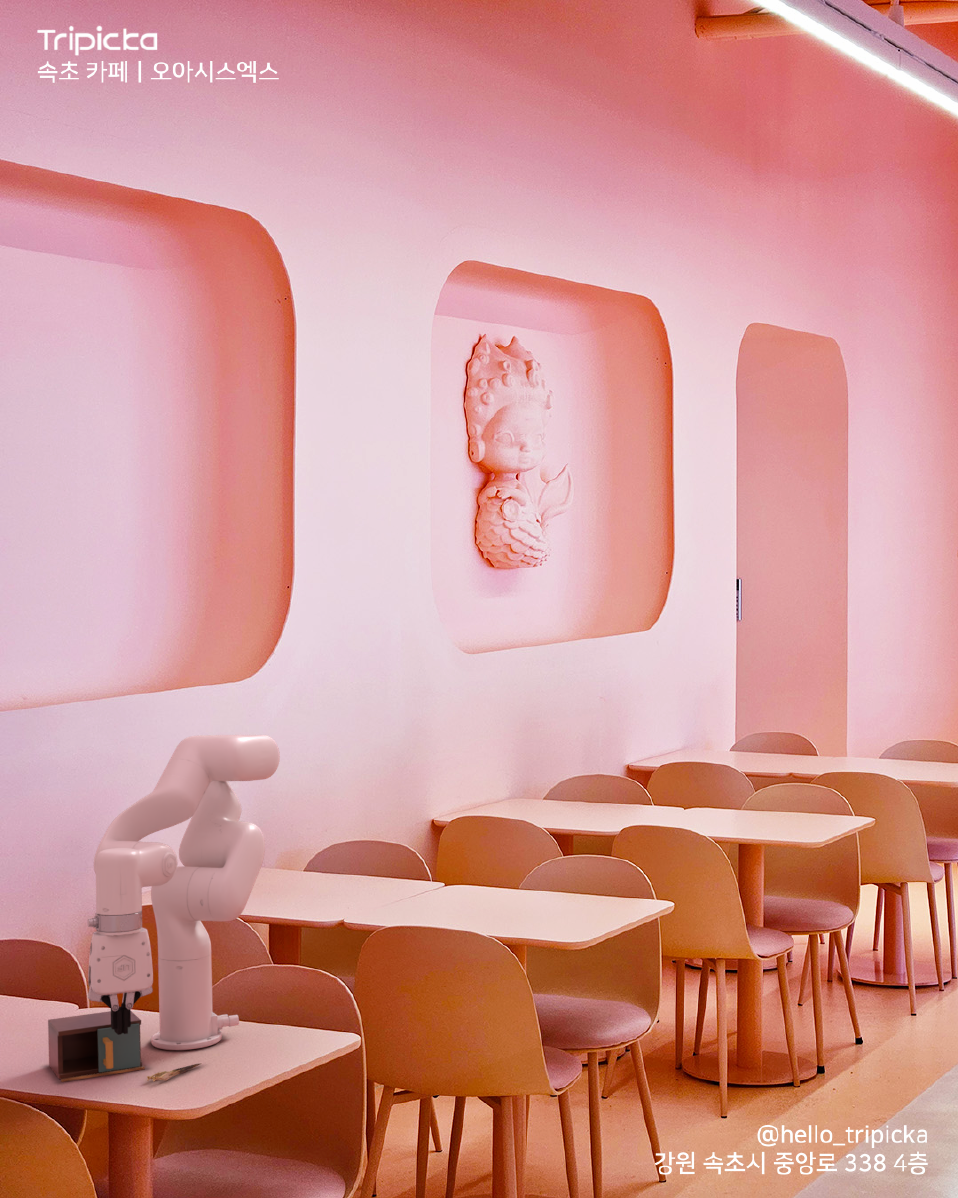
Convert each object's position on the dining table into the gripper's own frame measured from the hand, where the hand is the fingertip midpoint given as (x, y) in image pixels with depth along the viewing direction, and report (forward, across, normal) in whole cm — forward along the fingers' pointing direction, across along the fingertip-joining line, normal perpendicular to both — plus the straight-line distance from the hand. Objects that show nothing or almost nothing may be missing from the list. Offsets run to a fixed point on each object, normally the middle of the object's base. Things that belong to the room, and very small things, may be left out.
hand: (120, 1032), depth 257 cm
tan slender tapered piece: (+8, +8, -4) cm, 12 cm away
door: (+7, 0, +2) cm, 7 cm away
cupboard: (+8, -2, +9) cm, 12 cm away
